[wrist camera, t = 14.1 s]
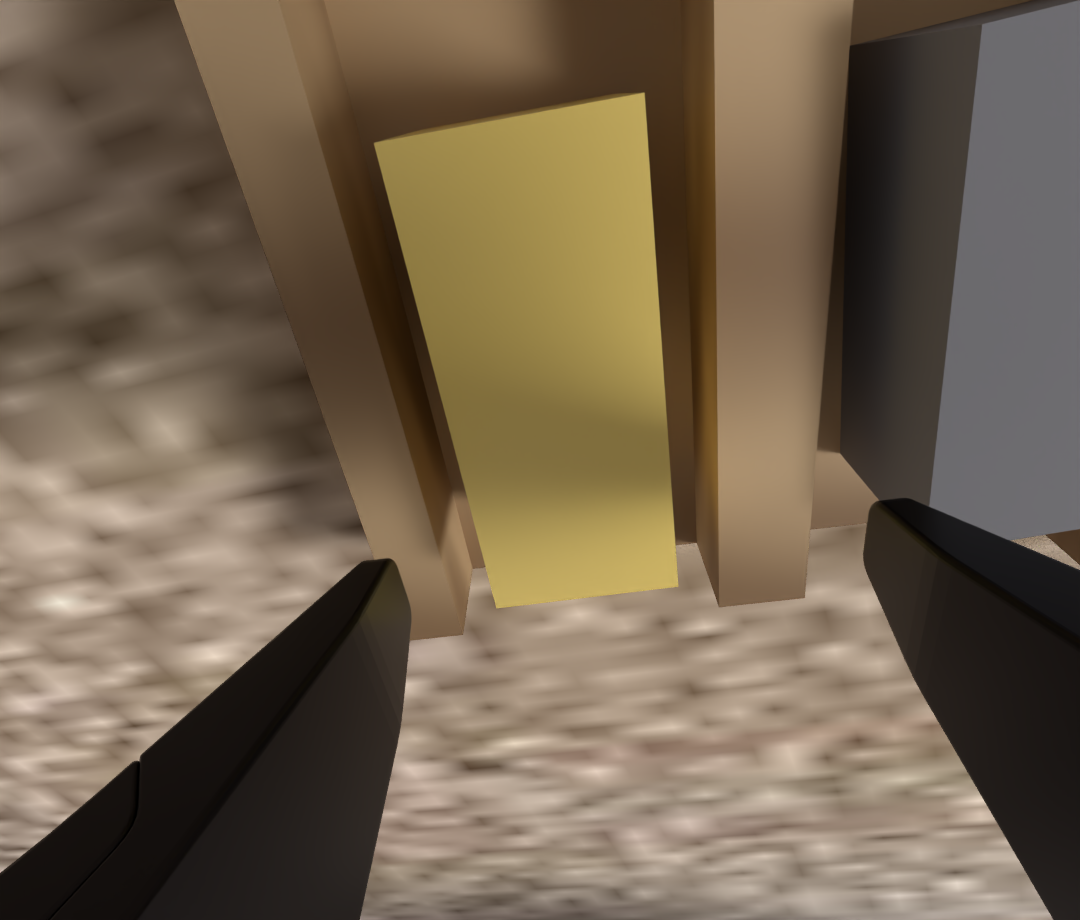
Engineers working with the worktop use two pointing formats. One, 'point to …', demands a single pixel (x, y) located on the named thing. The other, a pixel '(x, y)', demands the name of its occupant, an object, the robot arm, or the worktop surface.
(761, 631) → the worktop surface
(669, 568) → the yellow rectangular block
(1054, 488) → the tall grey block
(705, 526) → the slot board
